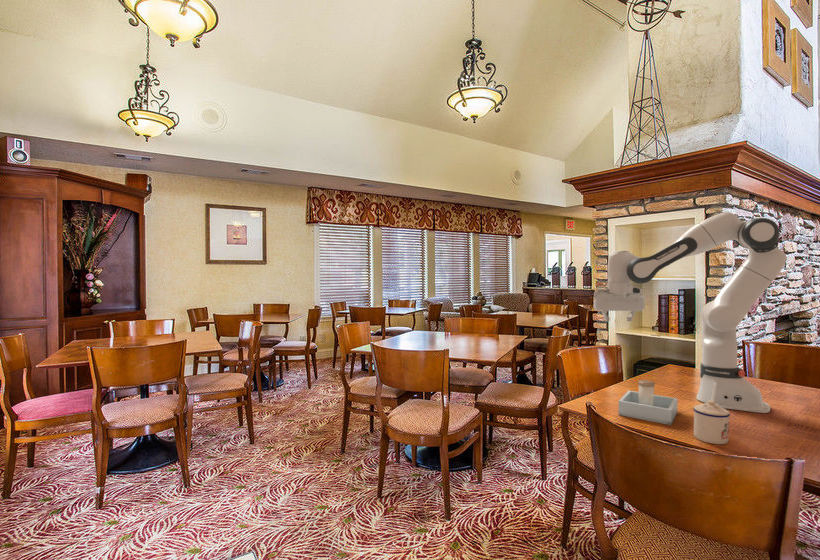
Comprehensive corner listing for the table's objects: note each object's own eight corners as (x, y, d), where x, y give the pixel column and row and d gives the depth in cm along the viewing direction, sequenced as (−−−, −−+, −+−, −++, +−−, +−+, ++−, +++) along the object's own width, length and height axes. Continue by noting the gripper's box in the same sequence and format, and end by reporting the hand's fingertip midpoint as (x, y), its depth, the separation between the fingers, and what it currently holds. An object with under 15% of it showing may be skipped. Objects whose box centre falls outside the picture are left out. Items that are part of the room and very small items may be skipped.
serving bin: (677, 412, 153) (677, 398, 153) (670, 425, 140) (671, 410, 140) (628, 403, 163) (628, 390, 163) (618, 414, 150) (618, 400, 150)
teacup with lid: (729, 447, 123) (730, 408, 122) (692, 440, 128) (692, 402, 128) (728, 434, 133) (729, 397, 132) (693, 428, 138) (694, 392, 138)
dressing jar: (655, 408, 153) (655, 381, 153) (653, 412, 149) (653, 384, 149) (639, 406, 157) (639, 379, 156) (636, 409, 152) (636, 382, 152)
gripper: (596, 289, 179) (596, 322, 179) (646, 289, 178) (646, 322, 178) (591, 288, 185) (590, 320, 186) (639, 288, 184) (638, 320, 184)
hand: (618, 321), depth 182 cm, fingers open, 8 cm apart
